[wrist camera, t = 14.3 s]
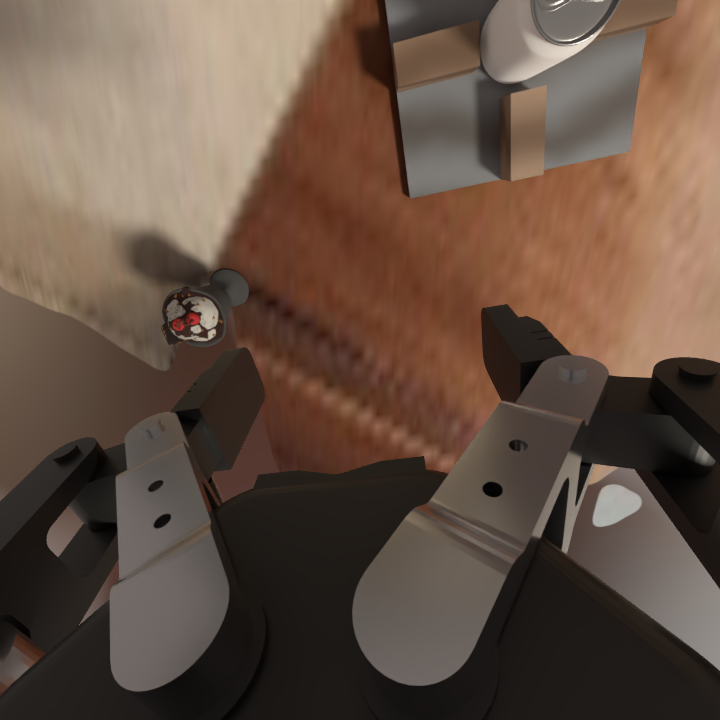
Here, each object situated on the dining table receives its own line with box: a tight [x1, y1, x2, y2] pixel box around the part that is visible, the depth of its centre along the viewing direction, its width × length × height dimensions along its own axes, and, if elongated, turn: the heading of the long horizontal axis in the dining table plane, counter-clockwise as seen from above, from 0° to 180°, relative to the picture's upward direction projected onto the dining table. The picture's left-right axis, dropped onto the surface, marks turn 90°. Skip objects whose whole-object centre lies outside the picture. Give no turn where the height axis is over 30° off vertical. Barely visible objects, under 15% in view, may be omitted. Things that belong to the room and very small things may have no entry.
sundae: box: [161, 269, 249, 347], centre depth 40 cm, size 7×7×15 cm
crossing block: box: [385, 0, 677, 198], centre depth 31 cm, size 22×22×4 cm
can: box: [480, 0, 621, 84], centre depth 27 cm, size 6×6×12 cm
